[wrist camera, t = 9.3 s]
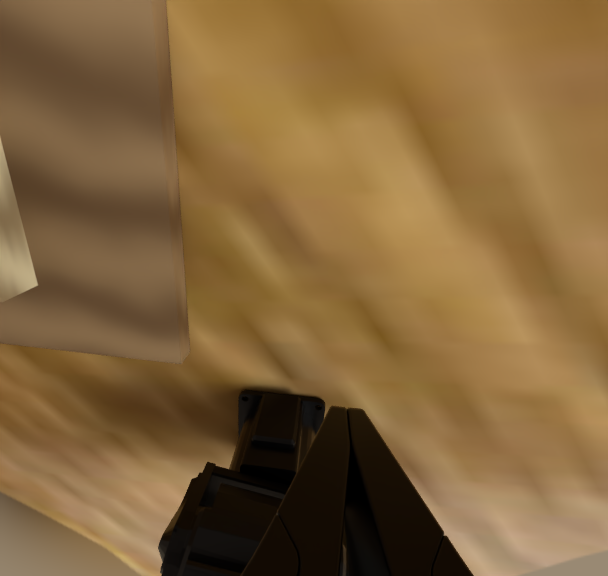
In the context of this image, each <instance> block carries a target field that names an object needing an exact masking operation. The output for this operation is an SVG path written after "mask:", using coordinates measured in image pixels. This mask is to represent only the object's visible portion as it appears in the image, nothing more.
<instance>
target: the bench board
mask: <svg viewBox="0 0 608 576" xmlns="http://www.w3.org/2000/svg"><path fill="white" fill-rule="evenodd" d="M0 138H1V142H2V146H3V150H4V154H5V158H6V162H7V166H8V170H9V174H10V178H11V181H12V185H13V189H14V193H15V197H16V201H17V205H18V209H19V213H20V217H21V221H22V225H23V228H24V232H25V236H26V240H27V244H28V248H29V252H30V256H31V260H32V264H33V268H34V272H35V275H36V279H37V283H38V286H36V287H34V288H31V289H29V290H27V291H25V292H23V293H21V294H19V295H17V296H15V297H13V298H10V299H8V300H6V301H4V302H0V343H3V344H12V345H20V346H29V347H37V348H46V349H55V350H63V351H72V352H81V353H89V354H98V355H106V356H115V357H124V358H132V359H141V360H150V361H158V362H167V363H175V364H182V363H183V361H184V360H185V359H186V357H187V356H188V354H189V353H190V342H189V328H188V313H187V299H186V284H185V270H184V255H183V241H182V226H181V212H180V197H179V183H178V168H177V154H176V139H175V125H174V110H173V96H172V81H171V67H170V52H169V38H168V23H167V9H166V0H0Z"/></svg>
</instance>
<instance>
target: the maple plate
mask: <svg viewBox="0 0 608 576" xmlns="http://www.w3.org/2000/svg"><path fill="white" fill-rule="evenodd" d="M36 286H38V283H37V279H36V275H35V272H34V268H33V264H32V260H31V256H30V252H29V248H28V244H27V240H26V236H25V232H24V228H23V225H22V221H21V217H20V213H19V209H18V205H17V201H16V197H15V193H14V189H13V185H12V181H11V178H10V174H9V170H8V166H7V162H6V158H5V154H4V150H3V146H2V142H1V138H0V302H4V301H6V300H8V299H10V298H13V297H15V296H17V295H19V294H21V293H23V292H25V291H27V290H29V289H31V288H34V287H36Z"/></svg>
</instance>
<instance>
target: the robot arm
mask: <svg viewBox="0 0 608 576" xmlns="http://www.w3.org/2000/svg"><path fill="white" fill-rule="evenodd" d="M244 396H246V397H248V398H245V397H244ZM316 405H320V406H319V407H318V406H316ZM324 413H325V402H324V401H323V400H322V399H318V398H309V397H301V396H292V395H284V394H275V393H267V392H258V391H250V390H243V391H242V392H241V393H240V395H239V440H238V443H237V446H236V449H235V452H234V455H233V458H232V462H231V465H230V468H229V469H226V468H222V467H218V466H215V465H216V464H214V463H210V462H207V464H206V466H205V468H204V470H203V472H202V473H199V475H198V477H196V478H193V479H192V480H191V482H190V485H189V487H188V489H187V492H186V494H185V496H184V499H183V501H182V503H181V505H180V507H179V509H178V510H177V512H176V514H175V515H174V517H173V519H172V520H171V522H170V524H169V525H168V527H167V529H166V530H165V532H164V533H163V535H162V538H161V540H160V543H159V546H158V549H159V552H160V555H161V558H162V561H163V563H162V566H161V571H160V573H161V574H162V576H474V575H473V574H472V573H471V571H470V570H469V568H468V567H467V565H466V564H465V562H464V561H463V560H462V558H461V557H460V555H459V554H458V552H457V551H456V549H455V548H454V546H453V545H452V543H451V541H450V540H449V538H448V537H447V536H444V531H443V530H442V528H441V527H440V525H439V524H438V522H437V520H436V519H435V517H434V516H433V514H432V513H431V511H430V510H429V508H428V507H427V505H426V504H425V502H424V501H423V499H422V498H421V496H420V495H419V493H418V492H417V490H416V489H415V487H414V486H413V484H412V483H411V481H410V480H409V478H408V477H407V475H406V474H405V472H404V470H403V469H402V467H401V466H400V464H399V463H398V461H397V460H396V458H395V457H394V455H393V454H392V452H391V451H390V449H389V448H388V446H387V445H386V443H385V442H384V440H383V439H382V437H381V436H380V434H379V433H378V431H377V430H376V428H375V427H374V425H373V424H372V422H371V420H370V419H369V417H368V416H367V414H366V413H365V411H364V410H362V409H358V408H348V409H346V408H345V407H339V406H331V407H330V409H329V411H328V413H327V415H326V417H325V418H324Z"/></svg>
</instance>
